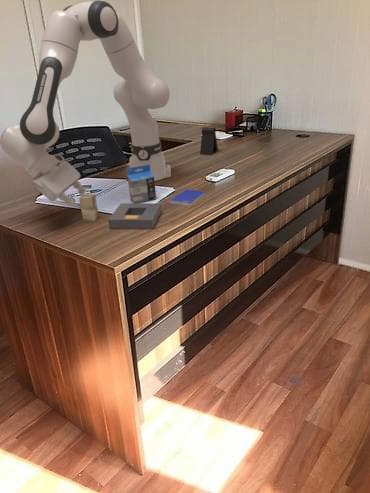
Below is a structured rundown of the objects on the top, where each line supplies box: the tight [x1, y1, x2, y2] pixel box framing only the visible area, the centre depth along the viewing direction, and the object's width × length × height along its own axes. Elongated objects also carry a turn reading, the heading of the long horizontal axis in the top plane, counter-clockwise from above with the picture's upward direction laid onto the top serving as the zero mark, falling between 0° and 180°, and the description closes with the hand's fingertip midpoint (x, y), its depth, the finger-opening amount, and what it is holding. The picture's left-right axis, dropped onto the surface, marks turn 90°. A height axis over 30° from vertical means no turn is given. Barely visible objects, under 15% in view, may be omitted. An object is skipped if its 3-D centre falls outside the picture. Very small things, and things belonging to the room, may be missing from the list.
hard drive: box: [168, 189, 206, 207], centre depth 156 cm, size 2×8×12 cm
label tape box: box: [126, 164, 157, 203], centre depth 154 cm, size 9×4×12 cm, turn 114°
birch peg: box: [78, 193, 99, 222], centre depth 142 cm, size 4×4×8 cm
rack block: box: [107, 202, 162, 230], centre depth 140 cm, size 14×14×3 cm
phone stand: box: [199, 126, 219, 156], centre depth 208 cm, size 9×6×12 cm, turn 154°
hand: (79, 197), depth 141 cm, fingers open, 8 cm apart
